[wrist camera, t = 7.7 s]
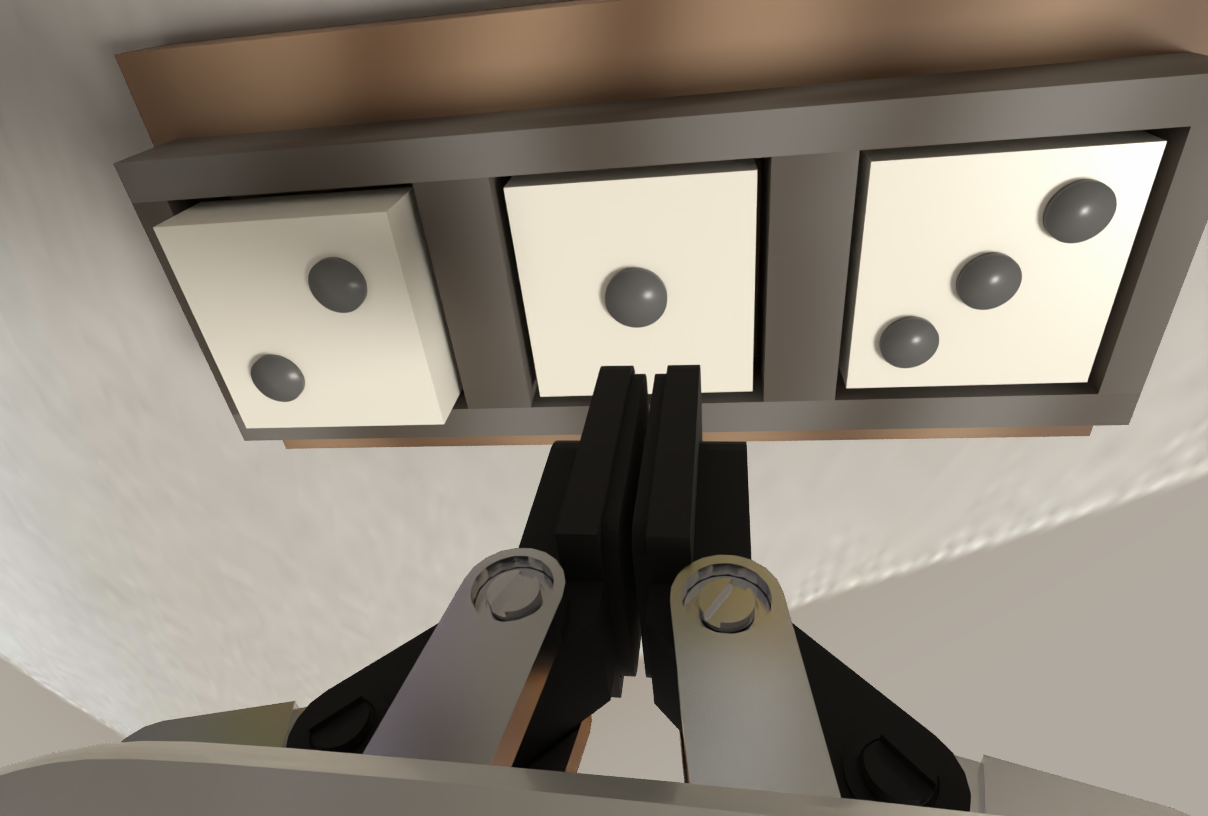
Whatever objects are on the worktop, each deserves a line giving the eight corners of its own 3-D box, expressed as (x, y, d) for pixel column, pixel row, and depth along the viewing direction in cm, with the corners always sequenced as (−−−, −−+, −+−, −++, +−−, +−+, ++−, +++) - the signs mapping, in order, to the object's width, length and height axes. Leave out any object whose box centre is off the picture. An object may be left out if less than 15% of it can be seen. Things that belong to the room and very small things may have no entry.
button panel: (1208, -69, 16) (1362, -70, 12) (1061, 400, 23) (1131, 488, 20) (161, 45, 20) (41, 69, 16) (311, 417, 27) (250, 493, 23)
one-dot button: (751, 148, 18) (758, 172, 16) (747, 355, 21) (752, 395, 19) (520, 165, 18) (501, 190, 17) (551, 362, 22) (538, 400, 20)
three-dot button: (1118, 120, 16) (1172, 143, 15) (1053, 345, 20) (1090, 386, 18) (854, 140, 17) (873, 164, 15) (834, 352, 21) (847, 392, 19)
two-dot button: (414, 186, 18) (382, 214, 16) (463, 386, 21) (442, 428, 19) (200, 201, 19) (147, 230, 17) (279, 391, 22) (243, 432, 20)
